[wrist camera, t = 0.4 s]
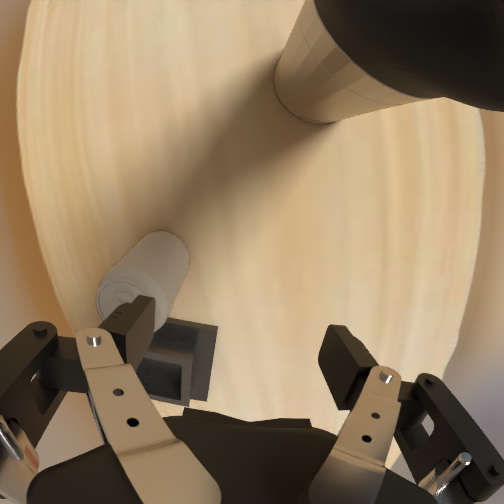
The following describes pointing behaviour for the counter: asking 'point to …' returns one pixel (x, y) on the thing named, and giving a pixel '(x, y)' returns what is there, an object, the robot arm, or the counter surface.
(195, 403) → the counter surface
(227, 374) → the counter surface
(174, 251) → the beverage can
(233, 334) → the counter surface
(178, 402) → the grey square socket holder
